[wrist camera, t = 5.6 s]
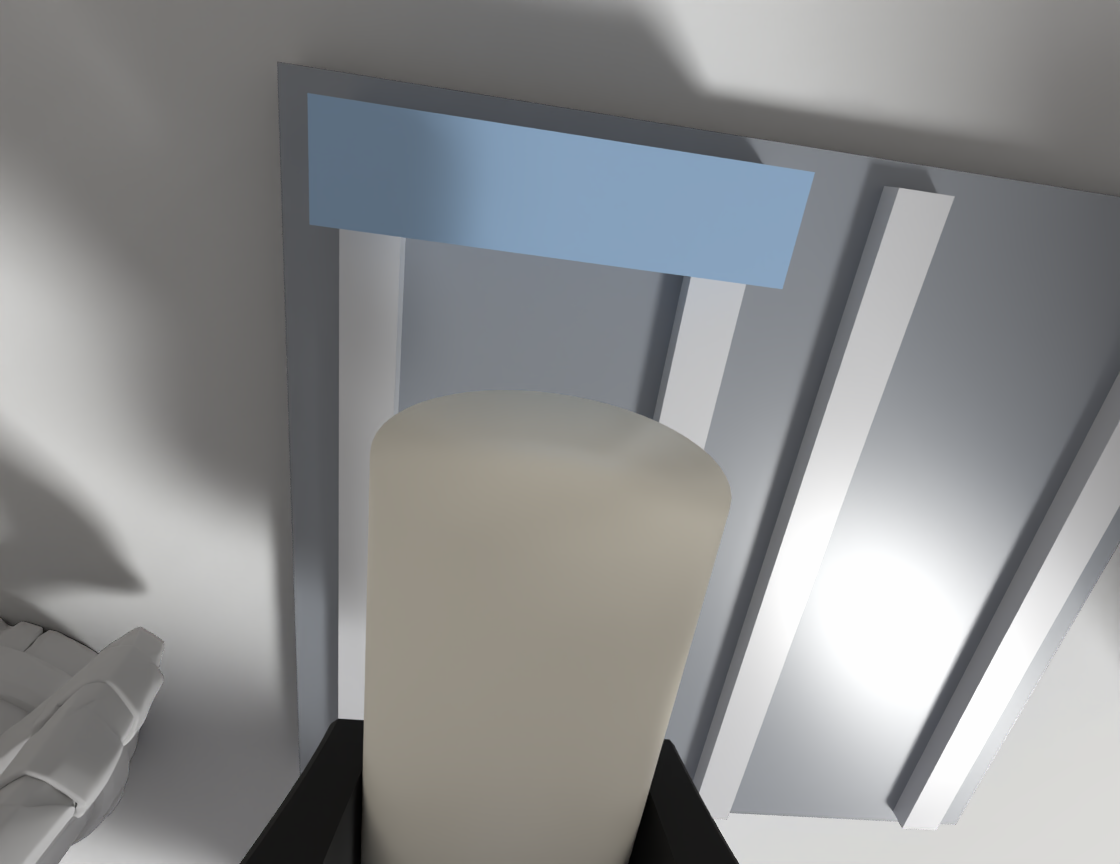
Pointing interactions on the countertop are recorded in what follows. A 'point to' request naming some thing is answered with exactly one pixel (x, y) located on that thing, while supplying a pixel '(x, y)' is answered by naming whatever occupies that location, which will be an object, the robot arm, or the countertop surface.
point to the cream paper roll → (526, 624)
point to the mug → (67, 734)
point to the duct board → (729, 407)
